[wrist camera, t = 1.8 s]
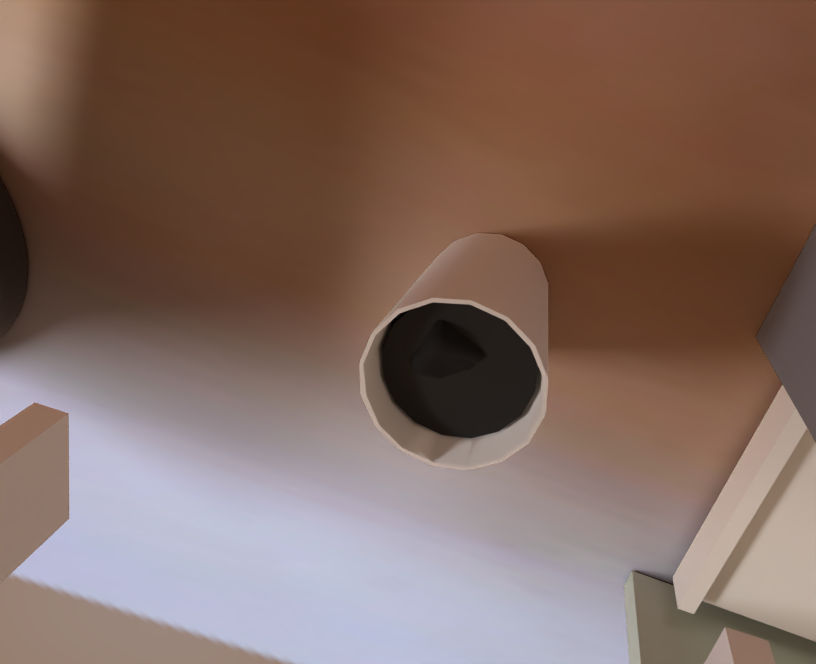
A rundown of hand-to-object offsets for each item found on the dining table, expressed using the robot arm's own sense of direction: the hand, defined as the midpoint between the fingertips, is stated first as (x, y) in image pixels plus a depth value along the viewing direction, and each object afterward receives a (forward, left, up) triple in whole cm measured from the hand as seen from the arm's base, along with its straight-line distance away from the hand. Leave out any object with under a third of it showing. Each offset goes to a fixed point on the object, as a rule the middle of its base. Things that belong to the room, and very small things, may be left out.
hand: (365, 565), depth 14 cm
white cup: (-1, -1, -21) cm, 21 cm away
